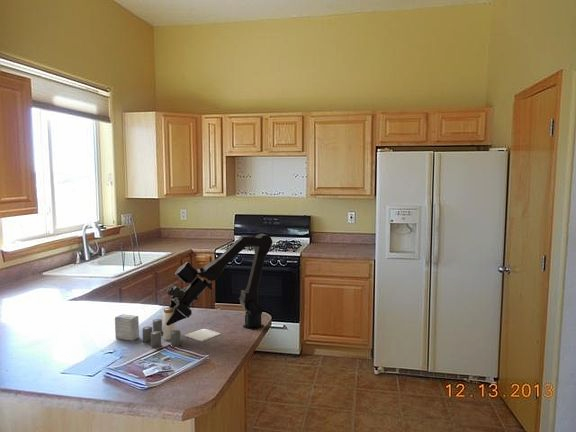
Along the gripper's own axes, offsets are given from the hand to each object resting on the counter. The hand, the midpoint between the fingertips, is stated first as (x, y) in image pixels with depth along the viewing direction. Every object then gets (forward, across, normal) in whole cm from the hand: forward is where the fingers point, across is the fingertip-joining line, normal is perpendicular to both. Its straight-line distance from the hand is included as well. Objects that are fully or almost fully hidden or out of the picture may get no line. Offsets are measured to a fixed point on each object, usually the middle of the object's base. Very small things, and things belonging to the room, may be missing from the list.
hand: (165, 321), depth 162 cm
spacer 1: (+10, 0, 0) cm, 10 cm away
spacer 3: (+8, +7, +2) cm, 10 cm away
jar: (+4, 0, +6) cm, 7 cm away
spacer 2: (+6, -8, +3) cm, 11 cm away
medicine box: (+15, -6, -5) cm, 17 cm away
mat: (-5, +2, +15) cm, 16 cm away
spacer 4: (+3, +8, +7) cm, 11 cm away
